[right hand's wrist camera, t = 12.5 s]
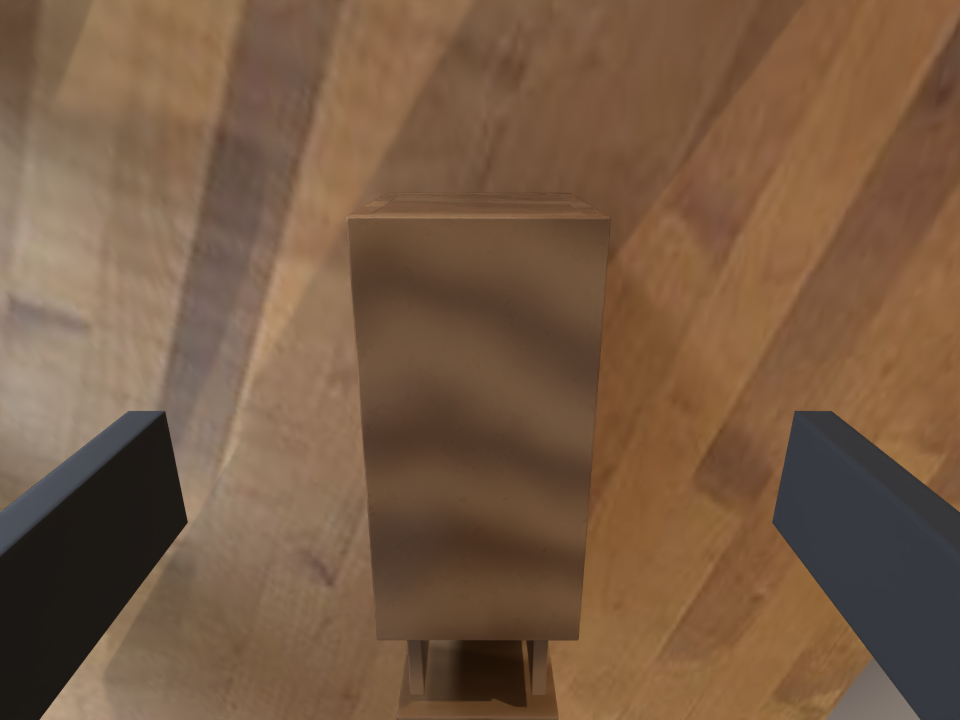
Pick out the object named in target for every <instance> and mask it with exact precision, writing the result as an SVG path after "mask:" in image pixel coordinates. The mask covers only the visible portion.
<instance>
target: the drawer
mask: <svg viewBox="0 0 960 720" xmlns="http://www.w3.org/2000/svg"><path fill="white" fill-rule="evenodd" d="M407 641H408V642H407V649H406V656H405V663H404V670H403V677H402V684H401V691H400V698H399V705H398V712H397V720H558V719H559V717H558V710H557V702H556V695H555V688H554V680H553V673H552V666H551V658H550V651H549V643H548V640H407Z"/></svg>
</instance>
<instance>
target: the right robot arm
mask: <svg viewBox="0 0 960 720" xmlns="http://www.w3.org/2000/svg"><path fill="white" fill-rule="evenodd" d="M187 523H188V521H187V516H186V511H185V507H184V502H183V497H182V492H181V487H180V482H179V477H178V472H177V467H176V462H175V457H174V452H173V447H172V443H171V438H170V433H169V428H168V423H167V418H166V413H165V411H128V412H127V413H125V414H124V415H123V416H122V417H120V418H119V419H118V420H117V421H115V422H114V423H113V424H112V425H110V426H109V427H108V428H106V429H105V430H104V431H103V432H101V433H100V434H99V435H98V436H96V437H95V438H94V439H93V440H91V441H90V442H89V443H87V444H86V445H85V446H84V447H82V448H81V449H80V450H79V451H77V452H76V453H75V454H73V455H72V456H71V457H70V458H68V459H67V460H66V461H65V462H63V463H62V464H61V465H60V466H58V467H57V468H56V469H54V470H53V471H52V472H51V473H49V474H48V475H47V476H46V477H44V478H43V479H42V480H41V481H39V482H38V483H37V484H35V485H34V486H33V487H32V488H30V489H29V490H28V491H27V492H25V493H24V494H23V495H22V496H20V497H19V498H18V499H16V500H15V501H14V502H13V503H11V504H10V505H9V506H8V507H6V508H5V509H4V510H3V511H1V512H0V720H40V718H41V717H42V716H43V714H44V713H45V712H46V710H47V709H48V708H49V706H50V705H51V704H52V702H53V701H54V700H55V698H56V697H57V696H58V694H59V693H60V692H61V690H62V689H63V688H64V686H65V685H66V684H67V682H68V681H69V680H70V678H71V677H72V676H73V674H74V673H75V672H76V670H77V669H78V668H79V666H80V665H81V664H82V662H83V661H84V660H85V658H86V657H87V656H88V654H89V653H90V652H91V650H92V649H93V648H94V646H95V645H96V644H97V642H98V641H99V640H100V638H101V637H102V636H103V634H104V633H105V632H106V630H107V629H108V628H109V626H110V625H111V624H112V622H113V621H114V620H115V618H116V617H117V616H118V615H119V613H120V612H121V611H122V609H123V608H124V607H125V605H126V604H127V603H128V601H129V600H130V599H131V597H132V596H133V595H134V593H135V592H136V591H137V589H138V588H139V587H140V585H141V584H142V583H143V581H144V580H145V579H146V577H147V576H148V575H149V573H150V572H151V571H152V569H153V568H154V567H155V565H156V564H157V563H158V561H159V560H160V559H161V557H162V556H163V555H164V553H165V552H166V551H167V549H168V548H169V547H170V545H171V544H172V543H173V541H174V540H175V539H176V537H177V536H178V535H179V533H180V532H181V531H182V529H183V528H184V527H185V525H186V524H187ZM772 523H773V524H774V525H775V527H776V528H777V529H778V531H779V532H780V533H781V535H782V536H783V537H784V539H785V540H786V541H787V543H788V544H789V545H790V547H791V548H792V549H793V551H794V552H795V553H796V555H797V556H798V557H799V559H800V560H801V561H802V563H803V564H804V565H805V567H806V568H807V569H808V571H809V572H810V573H811V575H812V576H813V577H814V579H815V580H816V581H817V583H818V584H819V585H820V587H821V588H822V589H823V591H824V592H825V593H826V595H827V596H828V597H829V599H830V600H831V601H832V603H833V604H834V605H835V607H836V608H837V609H838V611H839V612H840V613H841V615H842V616H843V617H844V618H845V620H846V621H847V622H848V624H849V625H850V626H851V628H852V629H853V630H854V632H855V633H856V634H857V636H858V637H859V638H860V640H861V641H862V642H863V644H864V645H865V646H866V648H867V649H868V650H869V652H870V653H871V654H872V656H873V657H874V658H875V660H876V661H877V662H878V664H879V665H880V666H881V668H882V669H883V670H884V672H885V673H886V674H887V676H888V677H889V678H890V680H891V681H892V682H893V684H894V685H895V686H896V688H897V689H898V690H899V692H900V693H901V694H902V696H903V697H904V698H905V700H906V701H907V702H908V704H909V705H910V706H911V708H912V709H913V710H914V711H915V713H916V714H917V716H918V717H919V718H920V720H960V512H959V511H957V510H956V509H955V508H954V507H952V506H951V505H950V504H949V503H947V502H946V501H945V500H944V499H942V498H941V497H940V496H938V495H937V494H936V493H935V492H933V491H932V490H931V489H930V488H928V487H927V486H926V485H925V484H923V483H922V482H921V481H919V480H918V479H917V478H916V477H914V476H913V475H912V474H911V473H909V472H908V471H907V470H906V469H904V468H903V467H902V466H900V465H899V464H898V463H897V462H895V461H894V460H893V459H892V458H890V457H889V456H888V455H887V454H885V453H884V452H883V451H881V450H880V449H879V448H878V447H876V446H875V445H874V444H873V443H871V442H870V441H869V440H867V439H866V438H865V437H864V436H862V435H861V434H860V433H859V432H857V431H856V430H855V429H854V428H852V427H851V426H850V425H848V424H847V423H846V422H845V421H843V420H842V419H841V418H840V417H838V416H837V415H836V414H835V413H833V412H832V411H795V413H794V418H793V423H792V428H791V433H790V438H789V443H788V447H787V452H786V457H785V462H784V467H783V472H782V477H781V482H780V487H779V492H778V497H777V502H776V507H775V511H774V516H773V521H772Z"/></svg>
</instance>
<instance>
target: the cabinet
mask: <svg viewBox="0 0 960 720" xmlns="http://www.w3.org/2000/svg"><path fill="white" fill-rule="evenodd" d="M346 219H347V233H348V247H349V261H350V274H351V288H352V302H353V316H354V329H355V343H356V357H357V371H358V384H359V398H360V412H361V426H362V439H363V453H364V467H365V480H366V494H367V508H368V522H369V535H370V549H371V563H372V577H373V590H374V604H375V618H376V632H377V640H578V639H579V627H580V614H581V601H582V588H583V575H584V561H585V548H586V535H587V522H588V509H589V496H590V483H591V470H592V456H593V443H594V430H595V417H596V404H597V391H598V378H599V365H600V352H601V338H602V325H603V312H604V299H605V286H606V273H607V260H608V247H609V234H610V220H611V219H610V217H608V216H606V215H605V214H603V213H602V212H600V211H598V210H597V209H595V208H594V207H592V206H590V205H589V204H587V203H585V202H584V201H582V200H580V199H579V198H577V197H576V196H574V195H572V194H571V193H386V194H384V195H383V196H381V197H379V198H378V199H376V200H374V201H373V202H371V203H369V204H368V205H366V206H364V207H362V208H361V209H359V210H357V211H356V212H354V213H352V214H351V215H350V216H348V217H347V218H346Z"/></svg>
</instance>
